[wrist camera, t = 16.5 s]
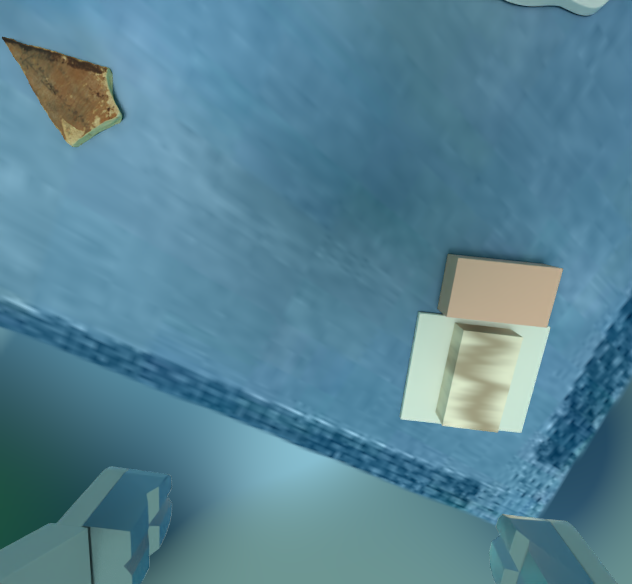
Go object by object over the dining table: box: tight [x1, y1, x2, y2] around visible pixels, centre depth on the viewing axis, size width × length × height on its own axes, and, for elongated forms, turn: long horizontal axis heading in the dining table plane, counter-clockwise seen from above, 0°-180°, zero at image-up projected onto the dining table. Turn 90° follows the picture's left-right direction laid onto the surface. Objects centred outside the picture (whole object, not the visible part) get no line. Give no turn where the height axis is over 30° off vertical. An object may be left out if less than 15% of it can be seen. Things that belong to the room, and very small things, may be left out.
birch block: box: [435, 323, 523, 432], centre depth 37 cm, size 6×2×11 cm
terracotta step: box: [437, 254, 563, 328], centre depth 35 cm, size 10×6×3 cm, turn 84°
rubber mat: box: [400, 312, 550, 433], centre depth 38 cm, size 14×13×1 cm
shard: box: [2, 37, 122, 147], centre depth 33 cm, size 11×8×2 cm
